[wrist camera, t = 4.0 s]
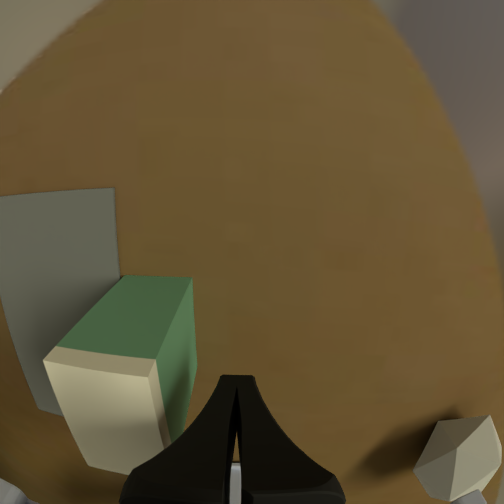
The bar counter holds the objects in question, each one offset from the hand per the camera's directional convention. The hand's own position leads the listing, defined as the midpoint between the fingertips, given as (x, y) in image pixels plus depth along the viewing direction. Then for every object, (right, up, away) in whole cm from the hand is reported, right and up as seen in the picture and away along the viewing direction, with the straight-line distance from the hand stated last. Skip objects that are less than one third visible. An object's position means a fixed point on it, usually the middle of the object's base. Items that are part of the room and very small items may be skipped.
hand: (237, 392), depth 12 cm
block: (-5, +2, +6) cm, 8 cm away
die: (+19, -11, +10) cm, 24 cm away
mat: (-12, +1, +6) cm, 14 cm away
